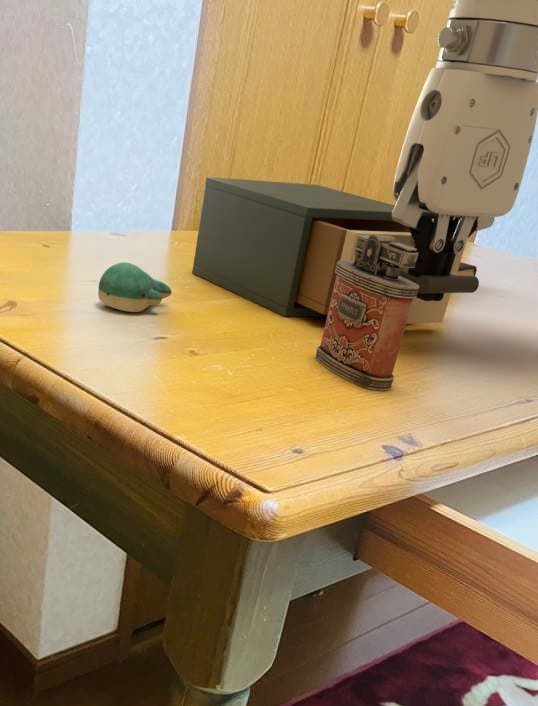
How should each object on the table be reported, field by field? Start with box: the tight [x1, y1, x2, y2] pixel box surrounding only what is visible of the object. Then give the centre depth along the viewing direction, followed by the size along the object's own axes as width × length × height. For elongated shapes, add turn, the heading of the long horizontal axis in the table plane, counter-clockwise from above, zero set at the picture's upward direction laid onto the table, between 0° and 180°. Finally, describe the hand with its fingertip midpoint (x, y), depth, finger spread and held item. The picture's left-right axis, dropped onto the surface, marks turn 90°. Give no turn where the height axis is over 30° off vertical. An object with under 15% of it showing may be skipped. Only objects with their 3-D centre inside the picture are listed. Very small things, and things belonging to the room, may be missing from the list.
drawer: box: [295, 217, 480, 325], centre depth 78 cm, size 21×13×8 cm, turn 28°
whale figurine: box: [97, 262, 172, 313], centre depth 74 cm, size 6×7×4 cm
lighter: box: [314, 235, 419, 391], centre depth 62 cm, size 8×3×10 cm, turn 22°
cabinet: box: [191, 176, 396, 318], centre depth 85 cm, size 17×15×10 cm
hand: (421, 296), depth 73 cm, fingers closed
